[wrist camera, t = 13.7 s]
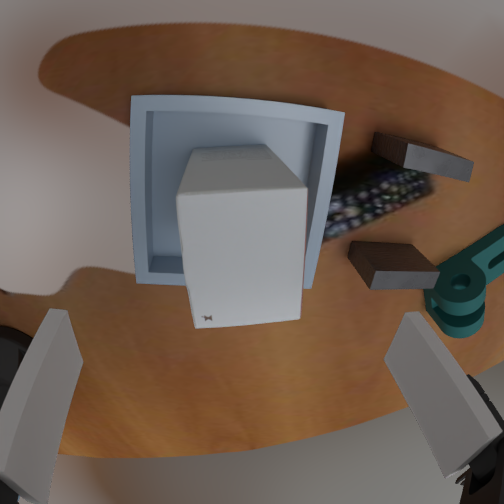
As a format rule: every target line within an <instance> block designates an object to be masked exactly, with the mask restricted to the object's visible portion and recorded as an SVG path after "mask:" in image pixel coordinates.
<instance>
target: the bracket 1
mask: <svg viewBox="0 0 504 504" xmlns="http://www.w3.org/2000/svg"><path fill="white" fill-rule="evenodd" d="M371 152H373V153H375V154H378V155H380V156H382V157H384V158H386V159H388V160H390V161H392V162H394V163H396V164H398V165H400V166H402V167H404V168H409V169H414V170H419V171H423V172H428V173H432V174H437V175H441V176H445V177H450V178H454V179H458V180H462V181H466V182H469V181H470V177H471V173H472V168H473V164H474V162H473V161H470V160H468V159H466V158H463V157H461V156H458V155H456V154H454V153H451V152H449V151H446V150H443V149H441V148H438V147H435V146H431V145H428V144H424V143H420V142H417V141H413V140H409V139H405V138H401V137H397V136H392V135H388V134H384V133H379V132H375V134H374V140H373V146H372V151H371ZM348 259H349V260H350V262H351V263H352V265H353V266H354V267H355V269H356V270H357V272H358V273H359V275H360V276H361V278H362V279H363V280H364V282H365V283H366V285H367V286H368V288H369V289H370V290H379V289H431V288H434V286H435V284H436V281H437V279H438V276H439V274H440V271H439V270H438V269H437V268H436V267H435V266H434V265H433V264H432V263H431V262H430V261H429V260H428V259H427V258H426V257H425V256H424V255H423V254H422V253H421V252H419V251H418V250H417V249H416V248H415V247H414V246H413V245H410V244H395V243H379V242H362V241H352V243H351V247H350V251H349V254H348Z"/></svg>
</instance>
